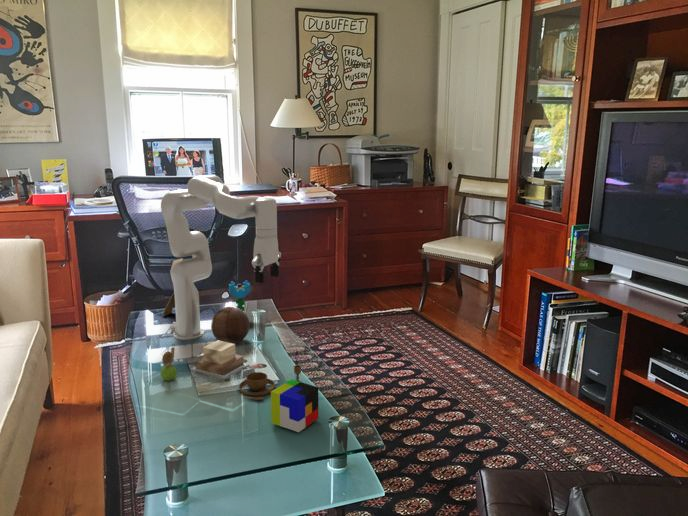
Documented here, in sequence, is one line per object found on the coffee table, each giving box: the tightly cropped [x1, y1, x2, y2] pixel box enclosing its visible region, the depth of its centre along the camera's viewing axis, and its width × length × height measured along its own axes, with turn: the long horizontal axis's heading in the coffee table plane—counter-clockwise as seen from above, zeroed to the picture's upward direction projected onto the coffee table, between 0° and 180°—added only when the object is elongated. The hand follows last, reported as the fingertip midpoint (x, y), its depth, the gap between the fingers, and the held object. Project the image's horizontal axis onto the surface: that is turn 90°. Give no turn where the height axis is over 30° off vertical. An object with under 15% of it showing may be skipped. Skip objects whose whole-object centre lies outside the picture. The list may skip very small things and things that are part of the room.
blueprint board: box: [189, 362, 251, 380], centre depth 209 cm, size 16×14×1 cm
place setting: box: [238, 364, 302, 401], centre depth 193 cm, size 18×20×6 cm
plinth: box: [195, 339, 245, 376], centre depth 208 cm, size 12×12×8 cm
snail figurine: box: [160, 343, 178, 382], centre depth 199 cm, size 5×6×12 cm
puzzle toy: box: [270, 379, 319, 433], centre depth 172 cm, size 10×10×10 cm
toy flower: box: [228, 280, 251, 312], centre depth 259 cm, size 9×9×18 cm
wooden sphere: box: [210, 306, 250, 345], centre depth 233 cm, size 15×15×15 cm
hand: (267, 279), depth 211 cm, fingers open, 9 cm apart
